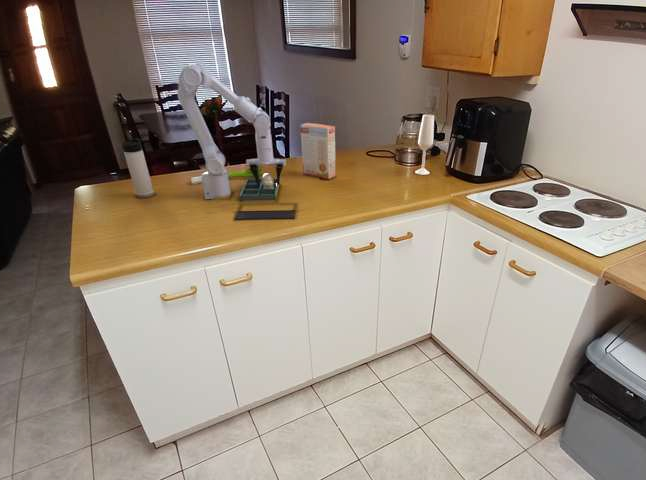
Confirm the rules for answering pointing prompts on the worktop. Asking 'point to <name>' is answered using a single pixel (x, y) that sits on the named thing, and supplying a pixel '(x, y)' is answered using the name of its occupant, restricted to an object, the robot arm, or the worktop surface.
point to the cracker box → (318, 150)
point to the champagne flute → (426, 139)
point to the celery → (232, 175)
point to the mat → (265, 215)
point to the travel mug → (138, 168)
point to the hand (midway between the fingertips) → (268, 184)
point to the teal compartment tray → (258, 191)
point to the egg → (268, 181)
